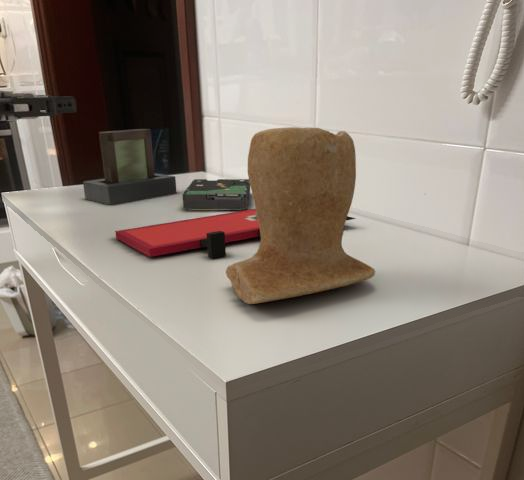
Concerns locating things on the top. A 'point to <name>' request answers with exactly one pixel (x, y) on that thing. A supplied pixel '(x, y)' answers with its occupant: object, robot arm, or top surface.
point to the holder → (129, 189)
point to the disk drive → (217, 194)
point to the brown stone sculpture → (299, 215)
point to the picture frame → (127, 155)
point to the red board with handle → (194, 234)
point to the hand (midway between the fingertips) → (60, 103)
